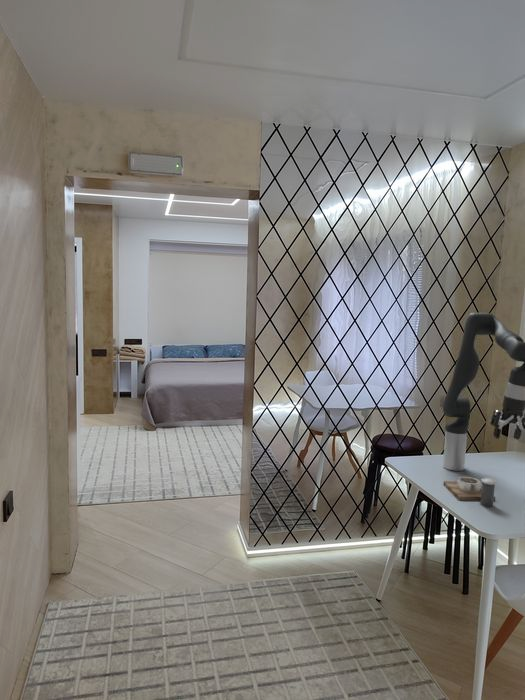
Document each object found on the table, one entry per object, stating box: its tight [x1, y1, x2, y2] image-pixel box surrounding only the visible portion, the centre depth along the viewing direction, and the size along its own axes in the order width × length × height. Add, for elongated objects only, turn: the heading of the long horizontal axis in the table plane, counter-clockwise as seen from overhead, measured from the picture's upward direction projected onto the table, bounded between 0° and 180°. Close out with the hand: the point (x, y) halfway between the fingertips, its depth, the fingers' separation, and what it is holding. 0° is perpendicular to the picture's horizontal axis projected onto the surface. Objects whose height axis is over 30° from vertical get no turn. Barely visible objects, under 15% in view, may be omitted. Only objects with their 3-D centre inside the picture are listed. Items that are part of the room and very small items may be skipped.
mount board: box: [443, 480, 496, 502], centre depth 201 cm, size 16×14×2 cm
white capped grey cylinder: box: [480, 477, 497, 508], centre depth 189 cm, size 5×5×10 cm
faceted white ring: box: [456, 476, 482, 493], centre depth 201 cm, size 9×9×4 cm
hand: (506, 438), depth 185 cm, fingers open, 8 cm apart
